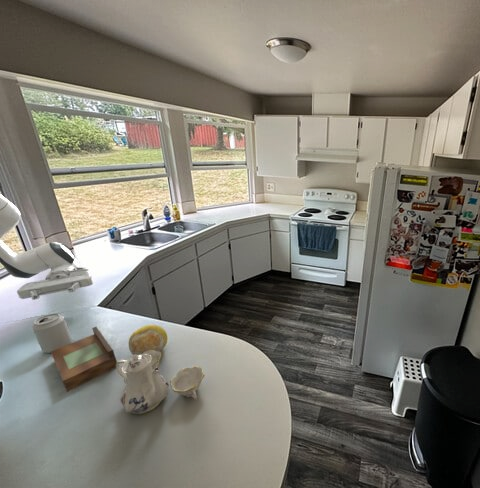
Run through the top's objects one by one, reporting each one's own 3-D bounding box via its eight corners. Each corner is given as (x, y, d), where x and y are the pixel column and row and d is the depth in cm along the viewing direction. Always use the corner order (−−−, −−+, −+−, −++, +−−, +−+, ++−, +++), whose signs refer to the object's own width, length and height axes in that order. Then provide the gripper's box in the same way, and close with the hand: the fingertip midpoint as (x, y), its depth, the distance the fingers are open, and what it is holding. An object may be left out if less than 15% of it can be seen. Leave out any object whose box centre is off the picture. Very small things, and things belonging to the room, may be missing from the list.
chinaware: (216, 385, 77) (214, 338, 73) (171, 436, 62) (165, 380, 58) (145, 364, 84) (140, 320, 80) (88, 404, 68) (78, 352, 64)
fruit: (130, 351, 87) (124, 328, 84) (166, 338, 94) (161, 315, 90) (134, 369, 80) (127, 344, 77) (172, 353, 87) (167, 330, 83)
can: (52, 341, 90) (40, 313, 86) (77, 337, 92) (67, 310, 88) (36, 356, 84) (23, 327, 79) (64, 352, 86) (53, 323, 82)
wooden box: (67, 391, 72) (59, 374, 70) (54, 361, 82) (47, 345, 80) (118, 365, 81) (112, 349, 79) (101, 341, 91) (96, 326, 89)
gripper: (21, 278, 96) (7, 294, 85) (92, 266, 107) (87, 279, 97) (27, 292, 98) (14, 310, 88) (96, 279, 109) (91, 293, 99)
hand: (53, 294), depth 92 cm, fingers open, 8 cm apart
